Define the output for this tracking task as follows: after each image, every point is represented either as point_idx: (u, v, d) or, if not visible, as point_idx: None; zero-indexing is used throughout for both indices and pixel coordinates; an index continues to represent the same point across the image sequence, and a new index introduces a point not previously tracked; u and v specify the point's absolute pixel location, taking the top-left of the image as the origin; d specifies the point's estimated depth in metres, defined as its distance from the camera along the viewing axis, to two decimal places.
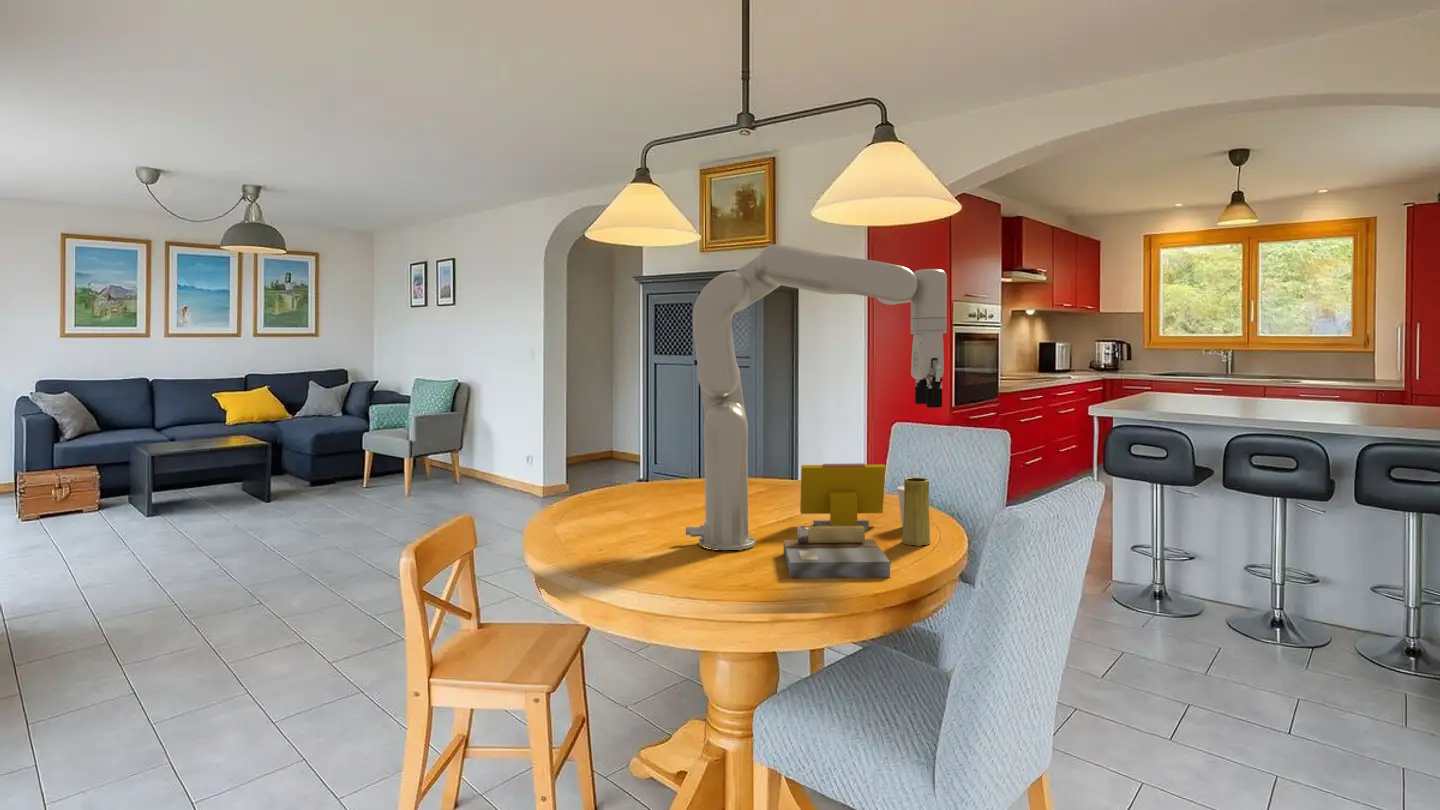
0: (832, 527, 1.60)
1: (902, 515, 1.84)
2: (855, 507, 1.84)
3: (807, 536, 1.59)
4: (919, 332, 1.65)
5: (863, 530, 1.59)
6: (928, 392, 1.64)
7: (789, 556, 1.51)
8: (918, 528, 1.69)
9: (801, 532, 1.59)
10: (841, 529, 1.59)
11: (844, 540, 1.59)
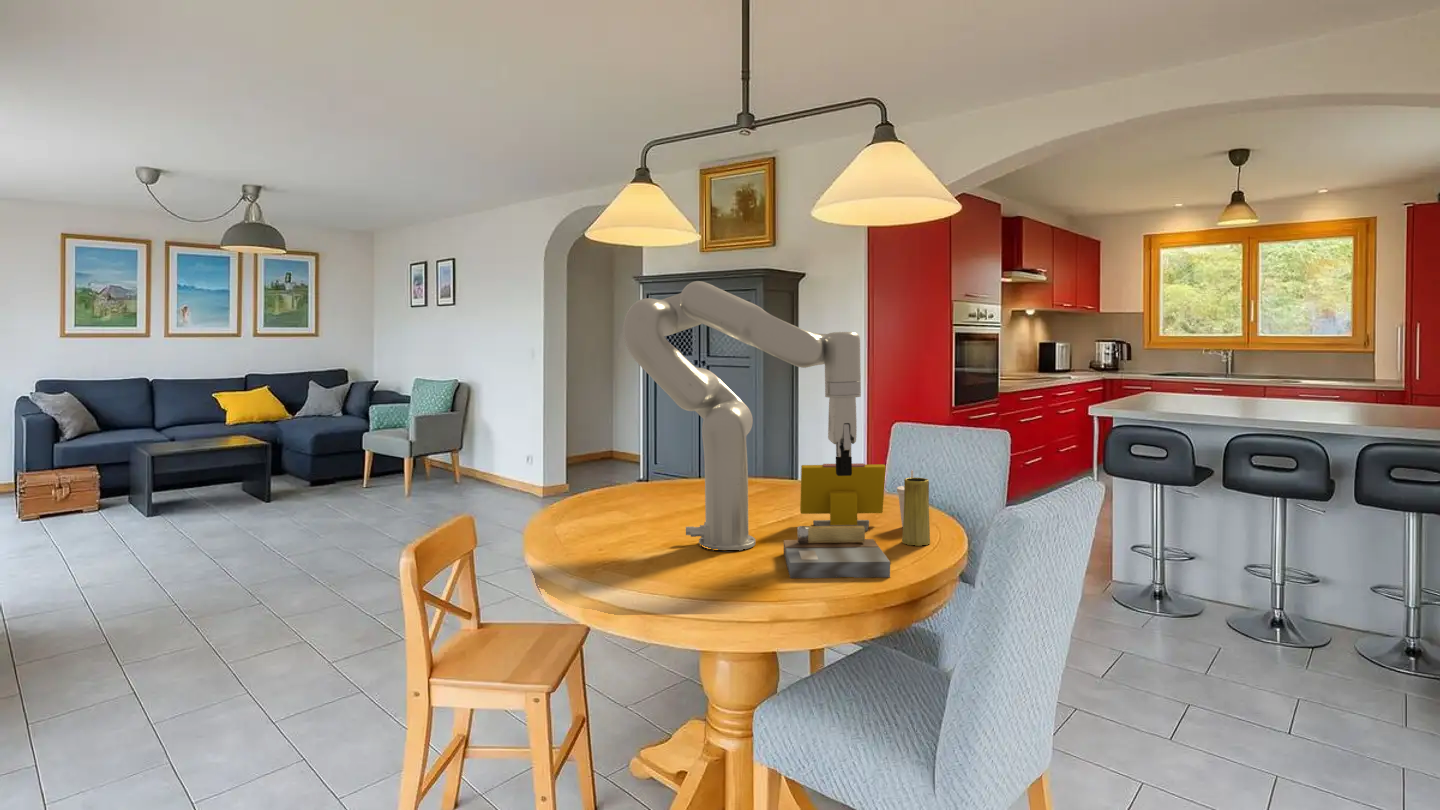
0: (832, 527, 1.60)
1: (902, 515, 1.84)
2: (855, 507, 1.84)
3: (807, 536, 1.59)
4: (832, 396, 1.62)
5: (863, 530, 1.59)
6: (838, 461, 1.65)
7: (789, 556, 1.51)
8: (918, 528, 1.69)
9: (801, 532, 1.59)
10: (841, 529, 1.59)
11: (844, 540, 1.59)
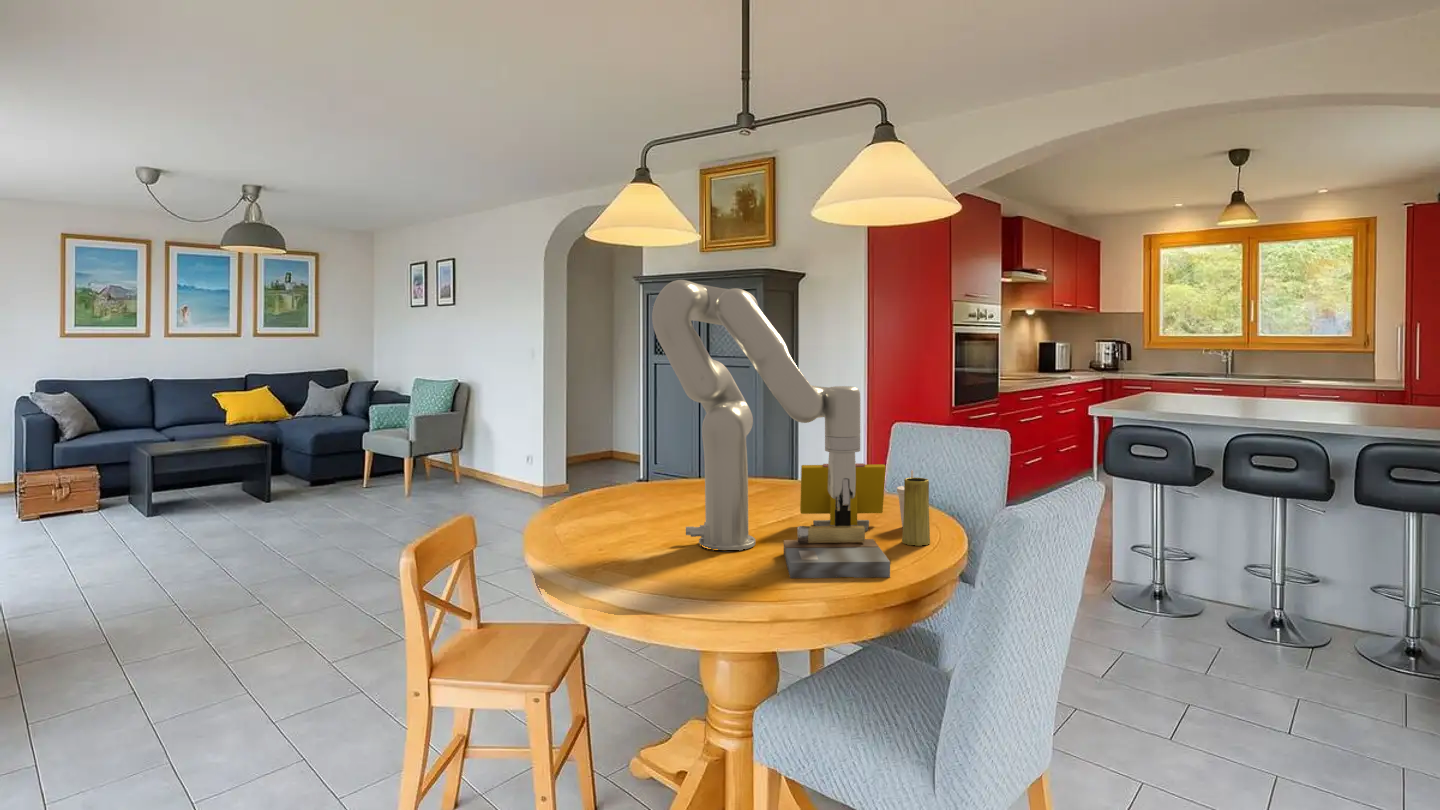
0: (832, 527, 1.60)
1: (902, 515, 1.84)
2: (855, 507, 1.84)
3: (807, 536, 1.59)
4: (831, 451, 1.63)
5: (863, 530, 1.59)
6: (837, 514, 1.66)
7: (789, 556, 1.51)
8: (918, 528, 1.69)
9: (801, 532, 1.59)
10: (841, 529, 1.59)
11: (844, 540, 1.59)
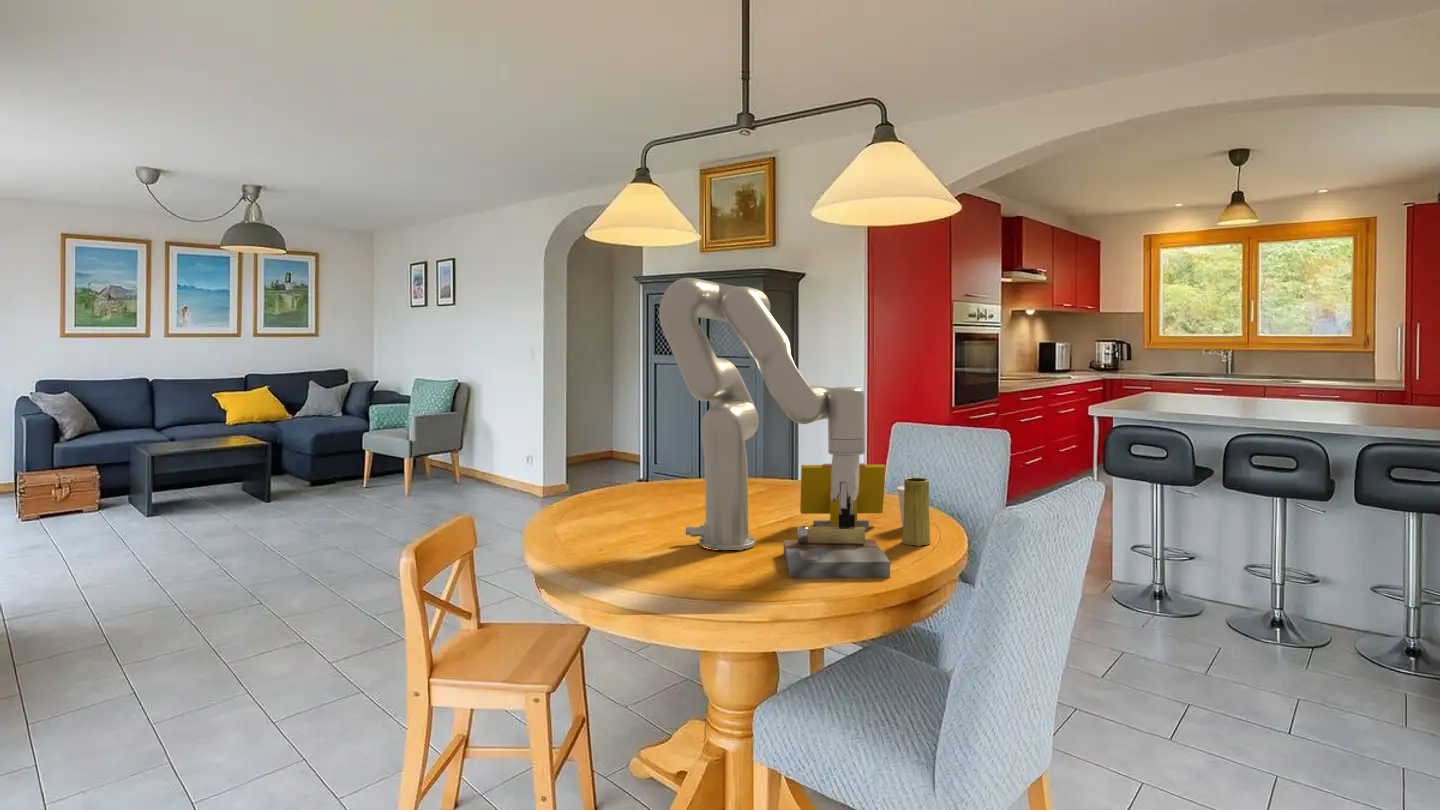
0: (832, 528, 1.59)
1: (902, 515, 1.84)
2: (855, 507, 1.84)
3: (807, 536, 1.59)
4: (831, 453, 1.59)
5: (863, 531, 1.58)
6: (840, 518, 1.62)
7: (789, 556, 1.51)
8: (918, 528, 1.69)
9: (800, 532, 1.59)
10: (841, 530, 1.59)
11: (844, 541, 1.59)
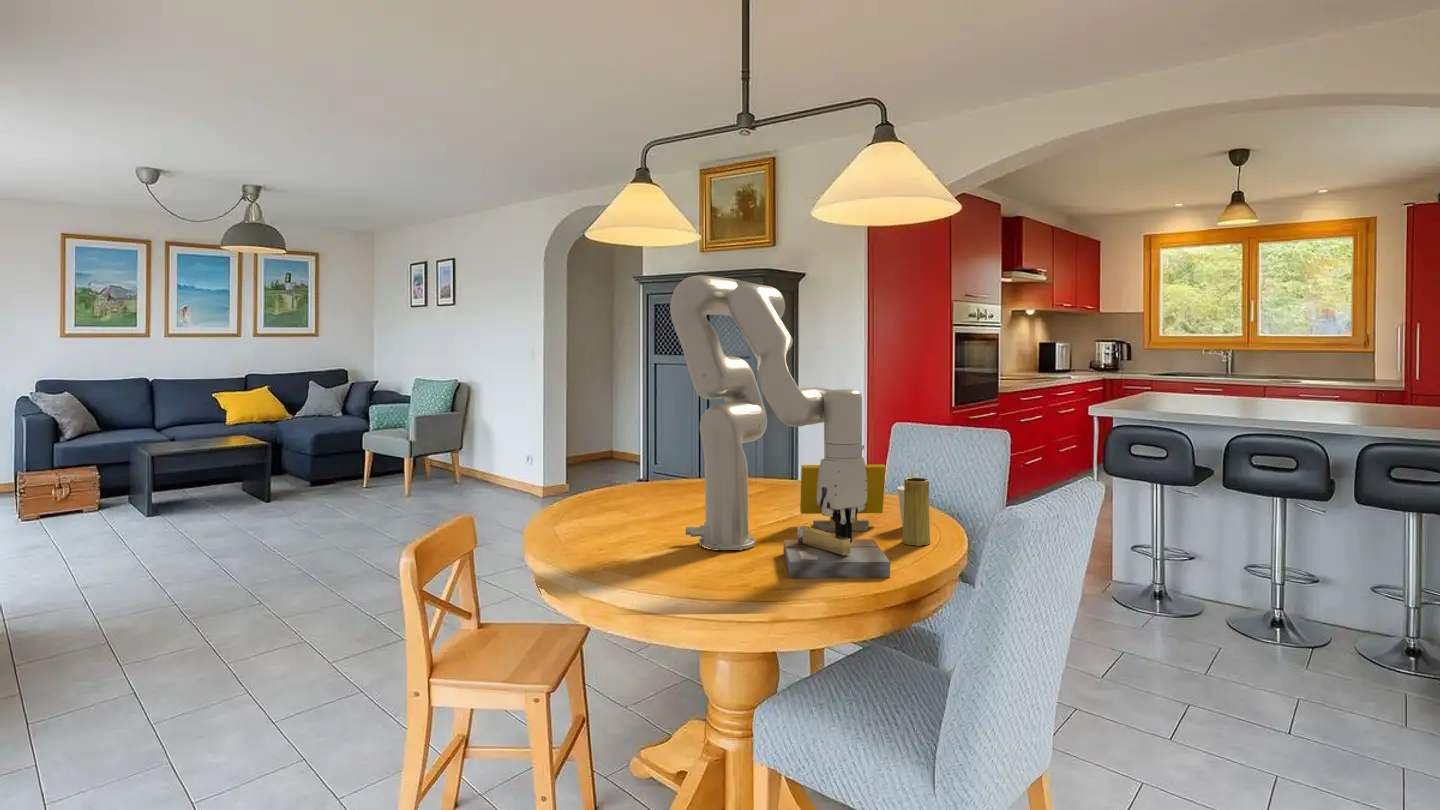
0: (822, 533, 1.55)
1: (902, 515, 1.84)
2: None
3: (802, 536, 1.59)
4: None
5: (841, 542, 1.50)
6: None
7: (789, 556, 1.51)
8: (918, 528, 1.69)
9: None
10: (825, 536, 1.54)
11: (827, 548, 1.53)
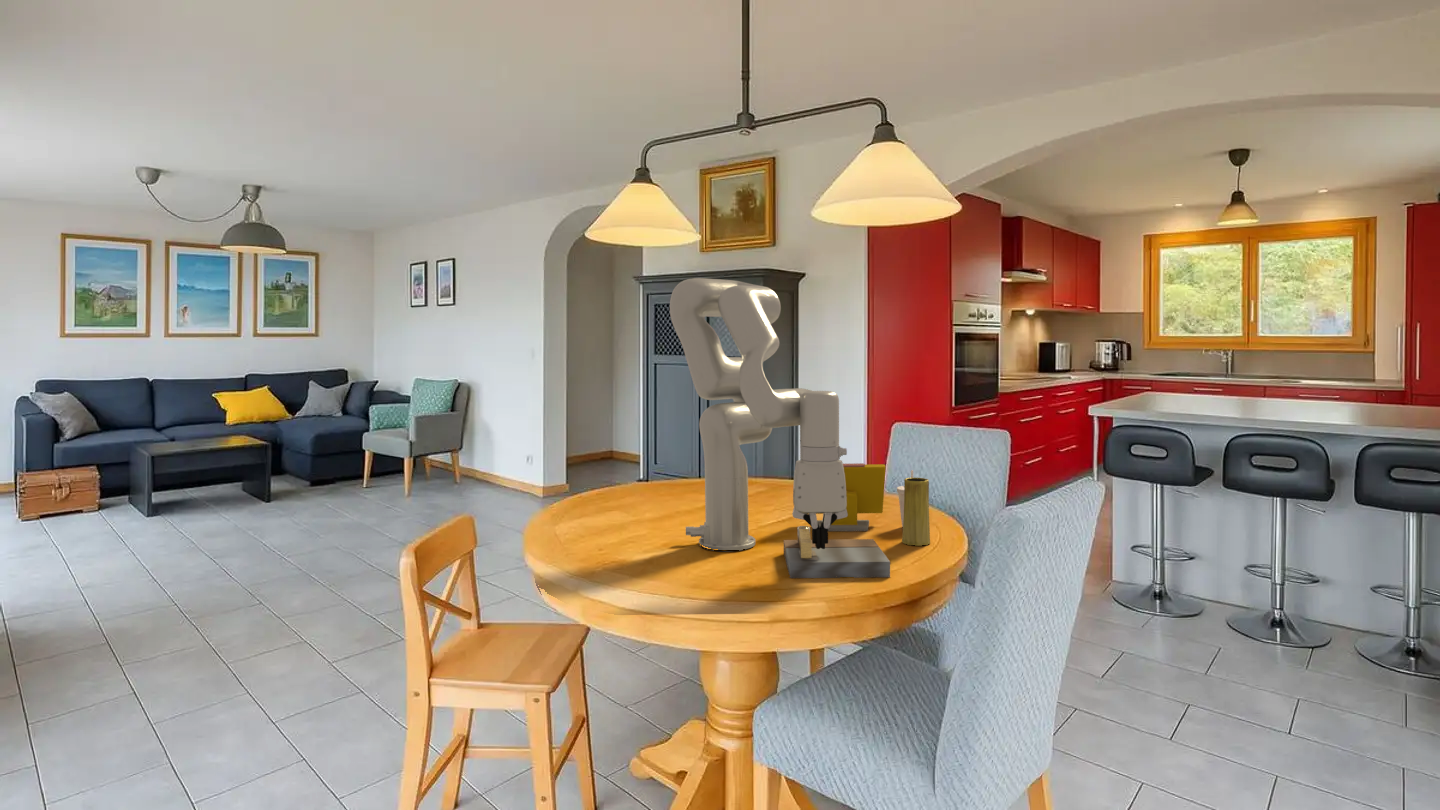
0: (803, 534, 1.54)
1: (902, 515, 1.84)
2: (855, 507, 1.84)
3: (798, 536, 1.60)
4: None
5: (801, 545, 1.48)
6: None
7: (789, 556, 1.51)
8: (918, 528, 1.69)
9: None
10: (800, 537, 1.53)
11: None
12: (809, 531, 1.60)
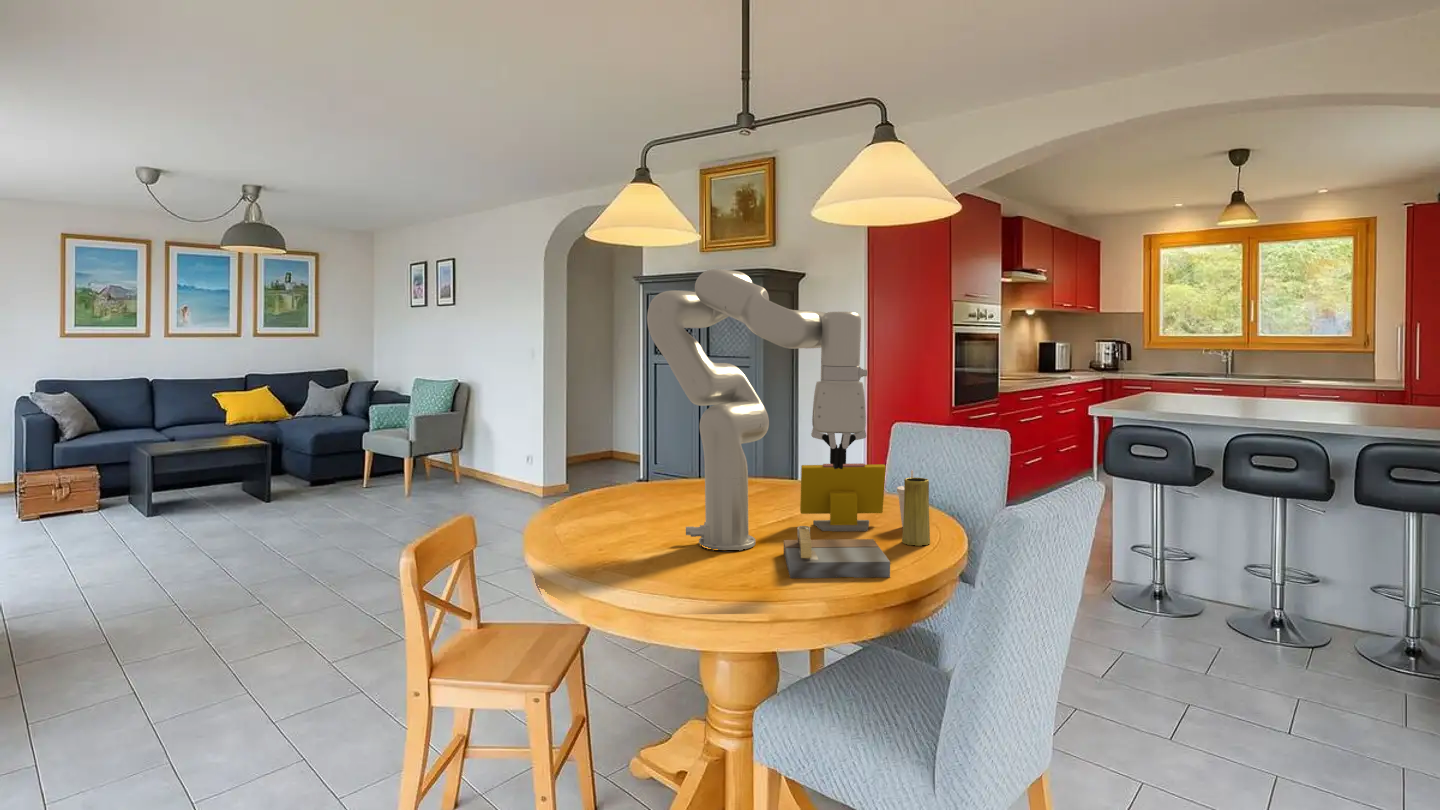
0: (803, 534, 1.54)
1: (902, 515, 1.84)
2: (855, 507, 1.84)
3: (798, 536, 1.60)
4: None
5: (800, 545, 1.48)
6: None
7: (789, 556, 1.51)
8: (918, 528, 1.69)
9: None
10: (800, 537, 1.53)
11: None
12: (809, 531, 1.60)
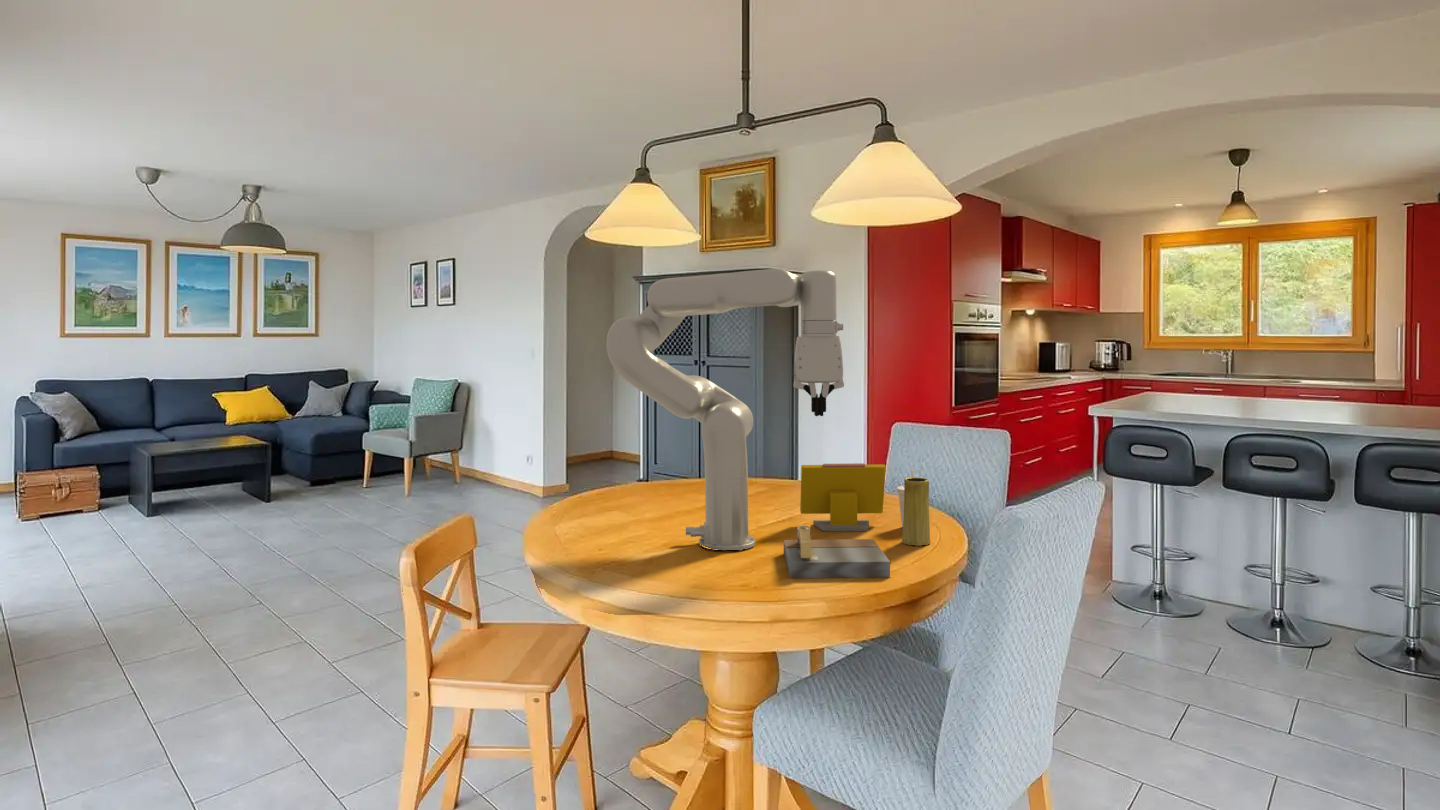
0: (803, 534, 1.54)
1: (902, 515, 1.84)
2: (855, 507, 1.84)
3: (798, 536, 1.60)
4: None
5: (800, 545, 1.48)
6: None
7: (789, 556, 1.51)
8: (918, 528, 1.69)
9: None
10: (800, 537, 1.53)
11: None
12: (809, 531, 1.60)
